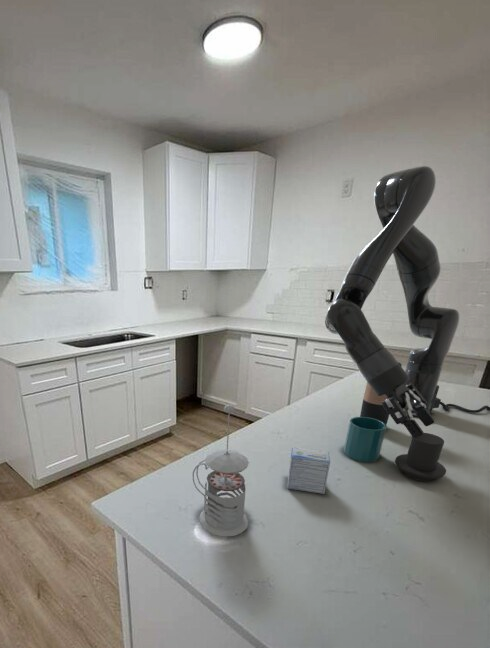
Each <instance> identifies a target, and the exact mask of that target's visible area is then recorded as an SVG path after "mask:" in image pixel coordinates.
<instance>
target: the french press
mask: <svg viewBox="0 0 490 648" xmlns="http://www.w3.org/2000/svg"><path fill="white" fill-rule="evenodd" d="M223 412H225V413H227V414H228V416H227V434H226V435H227V436H226V449H217V450H214V451H212V452H210V453H208V454H207V455H206V456H205V458H204V459H203V460H201V461H200V462H199V463H198V464H197V465H195V467H194V468H193V470H192V482H193V485H194V487H195V489H196V490H197V491H198V492H199V493H200V494H201V495H202V496H203V497H204V501H203V502H204V503H203V504H204V506H203V507H204V508H203V510H202V511H201V512H200V515H199V524H200V525H201V527H202V528H203V529H204V530H205V531H206V532H209V533H210V534H211V535H216V536H219V537H223V538H224V537H225V538H226V537H235V536H237V535H241V534H243V532H244V531H246V529H248V525H249V519H248V516H247V515H246V514H245V503H246V484H245V482H246V480H245V477H244V476H243V474H241V473H242V472H243V471H245V470H246V469H247V468H248V467H249V463H250V461H249V459H248V457H246V456H245V455H244V454H242V453H241V452H238V451H237V450H233V449H229V438H230V436H229V435H230V416H231V414H232V413H235V406H234V405H233V404H230V403H228V404H226V405H224V406H223ZM204 462H205V463H204ZM202 465H204V467H205V470H208V469H209V468H210V470H212V471H211V472H210V473H208V474H207V477H206V482H205V484H204V485H203V484H202V483H201V481H200V479H199V467H200V466H202ZM195 471H196V479H197V481H198V484H199V485H200V486H201V488H202V489H204V493H203V492H202V491H201V490H200V489H199V488H198V487H197V485H196V482H195ZM221 491H222V492H221ZM219 492H220V493H219ZM231 492H232V493H231ZM222 496H224V497H222ZM227 496H229V497H227Z"/></svg>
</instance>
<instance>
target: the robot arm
mask: <svg viewBox="0 0 490 648" xmlns="http://www.w3.org/2000/svg"><path fill="white" fill-rule="evenodd" d="M436 183H437V182H436V174H435V171H434V170H433V168H431V166H428V165H422V166H416V167H412V168H411V167H410V168H407V169H403V170H399V171H394V172H391V173H388V174H386V175H383V176H382V177H381V178H380V179H379V180H378V181H377V183H376V185H375V187H374V193H373V203H374V208H375V211H376V215H377V218H378V219H379V222H380V224H381V226H382V229H381V230H380V232H379V233H378V234H376V235H375V236H374V237H373V238H372V239H371V240H370V241H369V242H368V243H367V244H366V245H365V246H364V247H363V248H362V249H361V250H360V251H359V252H358V253H357V255H356V257H354V260H353V261H352V263H351V265H350V267H349V269H348V271H347V273H346V275H345V276H344V279H343V281H342V283H341V286H340V289H339V292H338V294H337V295H336V298H335V299H334V301H333V302H332V303H331V304H330V305H329V306H328V308H327V311H326V314H325V316H324V317H325V318H324V325H325V327H326V329H327V331H328V332H330V333H331V334H334V335H338V336H339V337H340V339H341V340H342V341H343V343H344V348H345V350H346V352H347V354H348V356H349V357H350V358H351V361H353V363H354V364H355V365H356V367H357V368H358V370H359V372H360V374H361V375H362V377H363V379H365V381H366V383H367V382H368V383H369V385H370V386H371V387H372V389H373V390H374V392H375V393H376V394H377V395H378V396H382V395H384V394H385V395H386V397H387V398H388V399H386V400H385V401H383V402H382V404H383V405H384V407H385V408H386V410H387V411H388V413H389V416H390V417H391V419H392V420H393V422H394V423H395V424H396V425H403V426H404V427H405V429H406V430H407V431H408V432H409V434H410V435H411V438H412V437H414V438H416V437H419V436H421V435H423V433H425V431H424V430H423V429H422V427H421V426H420V425H419V424H418V422H417V421H416V419H414V417H417V418H418V419H419V420H420V421H421V423H422V425H424V426H425V427H429V426H431V425H433V424H435V422H436V420H435V419H434V417H433V416H432V415H431V414H432V412H433V409H439V408H440V406H441V407H442V409H443V410H444V411H448V410H449V407H452V408H455V409H457V410H461V411H463V412H466V413H469V414H470V413H471V414H477V413H482V412H483V411H484V410H487V411H490V406H489V405H483V406H482V407H481V408H478V409H468V408H465V407H463V406H460V405H458V404H454V403H446V404H445V402H443V401H442V398H438V397H437V396H438V393H439V389H440V385H439V380H440V376H441V373H442V369H443V367H444V364H445V363H444V362H445V360H446V357H447V356H448V354H449V352H450V349H451V346H452V343H453V341H454V337H455V336H456V335H455V334H456V333H457V330H458V327H459V323H460V313H459V311H458V310H457V309H455V308H450V307H449V308H448V307H441V306H440V307H439V306H432V304H431V303H430V301H429V293H430V291H431V290H432V288H433V287H434V285H436V282H437V280H438V279H439V277H440V274H441V271H442V269H441V262H440V257H439V252H438V249H437V247H436V245H435V243H434V242H433V241H432V240H431V239H430V238H429V237H428V236H427V235H426V234H425V233H424V232H422V231H421V230H420V229H418V227H417V226H416V225H415V223H416V222H417V220H418V218H420V217H421V215H422V214H423V213H424V211H425V209H426V207H427V206H428V205H429V203H430V201H431V199H432V197H433V194H434V192H435V188H436ZM392 255H393V258H394V262H395V267H396V271H397V275H398V278H399V281H400V284H401V287H402V290H403V294H404V298H405V304H406V310H407V316H408V324H409V329H410V331H411V333H412V335H414V336H415V337H418V338H422V339H429V340H431V341H430V343H429V345H427V346H425V347H418V348H413V349H411V350H410V351H409V355H408V358H407V362H406V365H405V369H404V368H403V367H402V366H400V364H399V363H400V362H399V361H398V360H397V359H396V358H395V356H394V355H393V354H392V353H391V352H390V350H388V349H387V348H386V347H385V345H384V344H383V343H382V341H381V339H379V337H378V336H377V335H376V334H375V333H374V332H373V330H372V328H371V326H370V324H369V321H368V319H367V317H366V316H365V314H364V312H363V311H362V309H363V306H364V304H365V302H366V300H367V298H368V297H369V296H370V295H371V293H372V291H373V289H374V288H375V286H376V285H377V284H376V283H377V282H378V280H379V278H380V276H381V274H382V272H383V271H384V269H385V266H386V265H387V263H388V261H389V260H390V259H391V256H392ZM398 362H399V363H398Z"/></svg>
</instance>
